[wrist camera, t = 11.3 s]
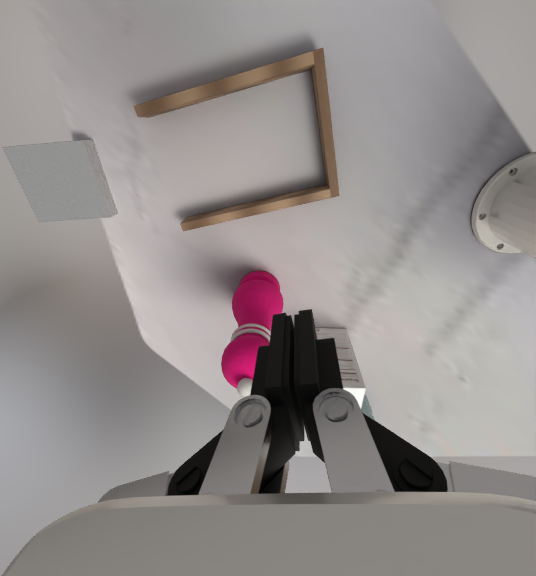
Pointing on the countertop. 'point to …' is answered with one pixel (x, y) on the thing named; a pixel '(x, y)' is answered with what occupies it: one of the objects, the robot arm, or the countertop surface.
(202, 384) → the countertop surface
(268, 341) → the pepper mill
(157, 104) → the wooden u-shaped frame
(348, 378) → the supplement box
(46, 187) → the cover plate
